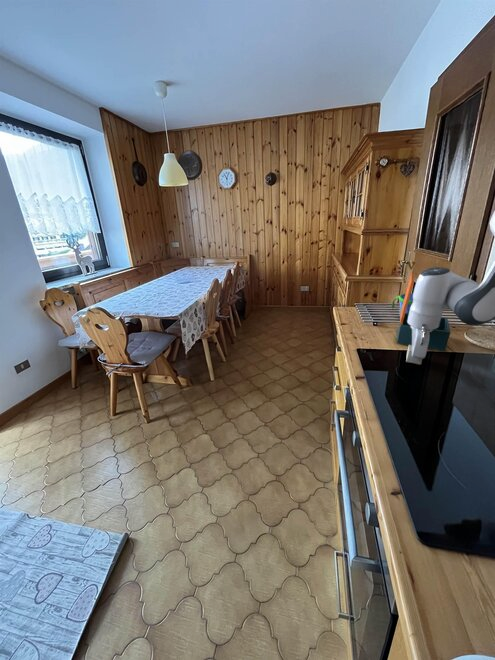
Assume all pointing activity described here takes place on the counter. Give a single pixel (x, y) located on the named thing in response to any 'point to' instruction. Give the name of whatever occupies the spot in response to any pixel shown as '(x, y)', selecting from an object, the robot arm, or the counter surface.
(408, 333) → the dark teal open box
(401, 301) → the snack cup
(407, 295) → the lid
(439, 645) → the counter surface
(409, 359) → the block
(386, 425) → the counter surface
